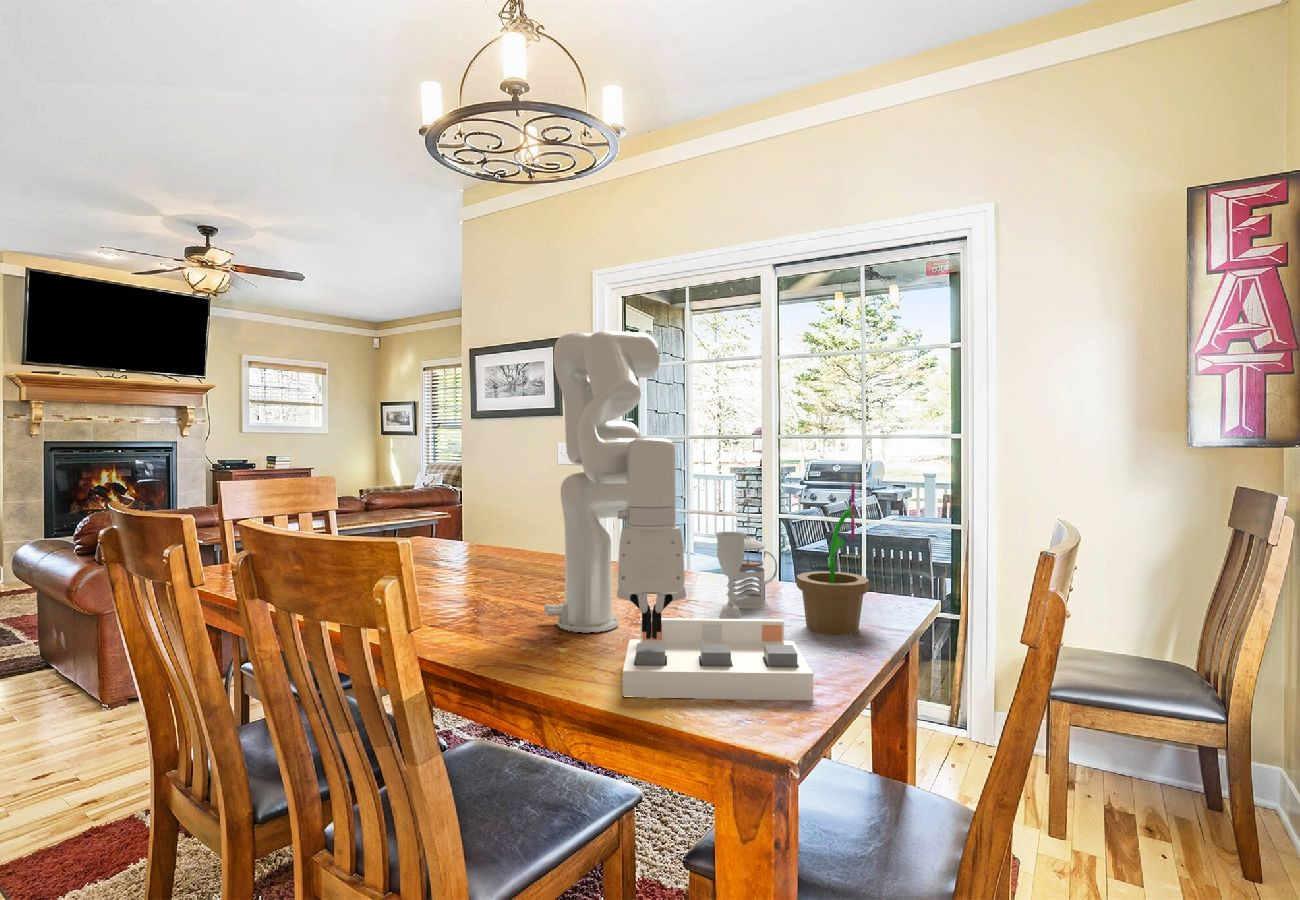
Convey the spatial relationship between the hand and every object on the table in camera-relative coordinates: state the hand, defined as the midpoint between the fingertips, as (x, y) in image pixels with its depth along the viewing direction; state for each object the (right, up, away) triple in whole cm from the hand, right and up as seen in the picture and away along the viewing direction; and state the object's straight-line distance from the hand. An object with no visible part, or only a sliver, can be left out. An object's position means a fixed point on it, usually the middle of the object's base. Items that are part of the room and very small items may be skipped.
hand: (651, 636), depth 104 cm
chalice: (+17, -8, +42) cm, 46 cm away
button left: (0, -5, 0) cm, 5 cm away
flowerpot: (+37, -8, +33) cm, 50 cm away
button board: (+10, -8, +3) cm, 13 cm away
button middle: (+10, -5, 0) cm, 11 cm away
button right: (+20, -5, 0) cm, 20 cm away
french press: (+24, -8, +54) cm, 59 cm away
